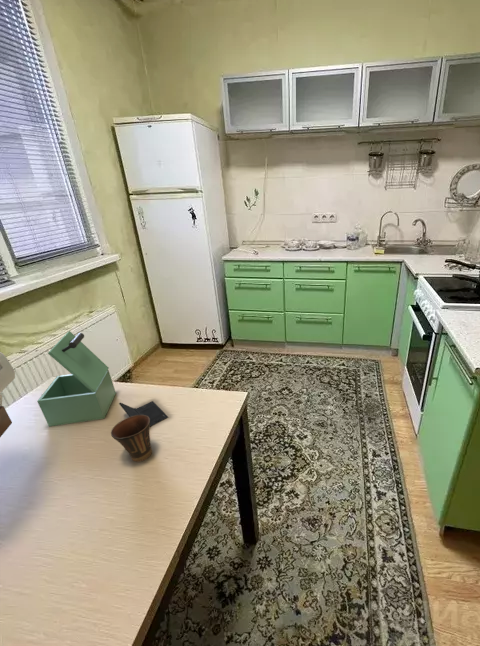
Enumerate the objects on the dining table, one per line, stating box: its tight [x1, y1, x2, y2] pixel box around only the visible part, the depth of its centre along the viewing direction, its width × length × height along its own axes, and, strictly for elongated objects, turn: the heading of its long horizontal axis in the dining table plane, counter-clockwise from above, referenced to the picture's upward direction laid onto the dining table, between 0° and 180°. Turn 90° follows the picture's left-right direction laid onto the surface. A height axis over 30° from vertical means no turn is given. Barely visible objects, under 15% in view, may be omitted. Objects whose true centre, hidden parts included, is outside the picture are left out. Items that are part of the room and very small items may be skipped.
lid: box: [47, 330, 110, 393], centre depth 91 cm, size 15×13×5 cm
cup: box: [110, 415, 153, 463], centre depth 80 cm, size 9×9×10 cm
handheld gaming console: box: [118, 400, 169, 428], centre depth 93 cm, size 12×7×10 cm
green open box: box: [36, 369, 117, 427], centre depth 96 cm, size 15×13×10 cm
